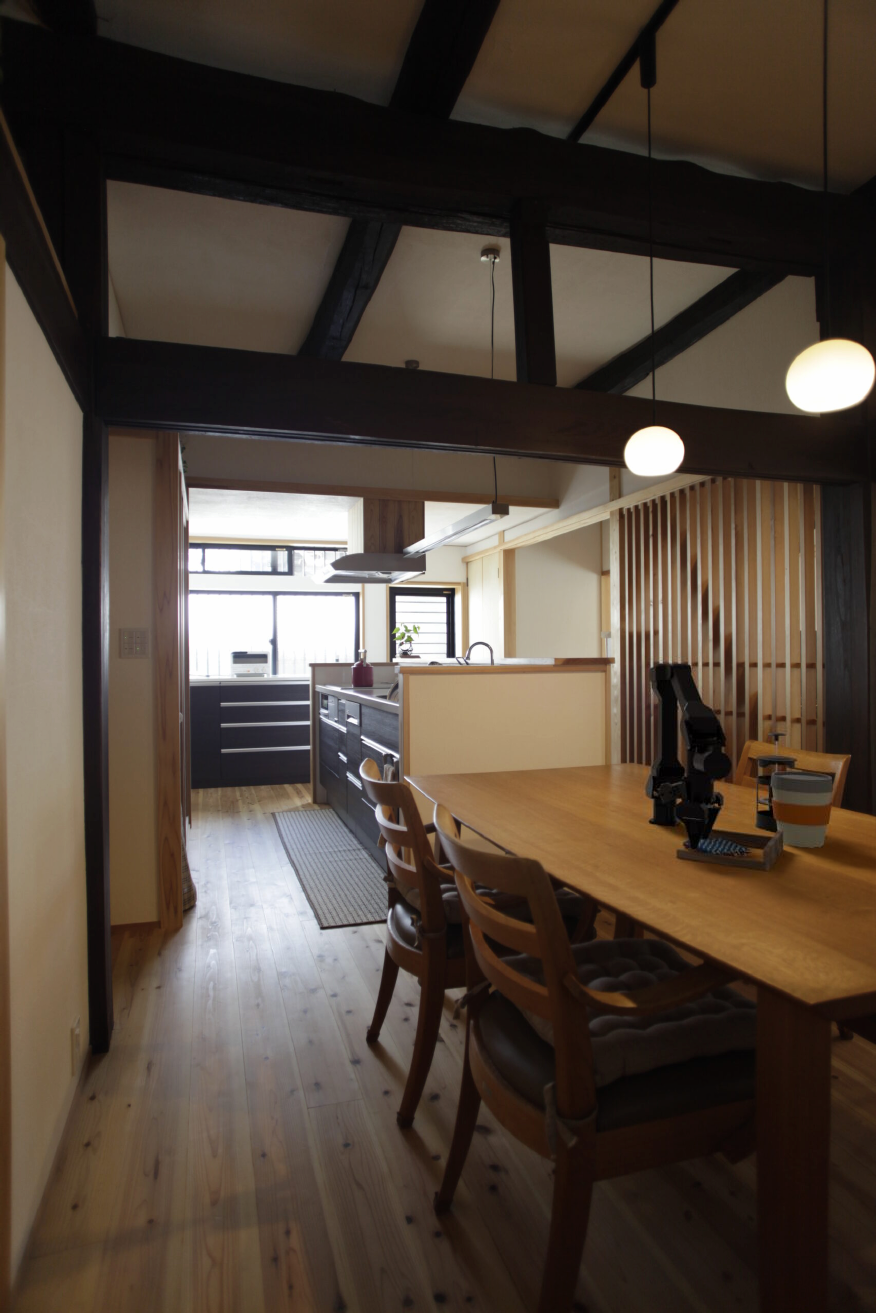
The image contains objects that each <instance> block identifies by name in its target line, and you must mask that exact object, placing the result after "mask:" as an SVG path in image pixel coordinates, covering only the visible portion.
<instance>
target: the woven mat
mask: <svg viewBox="0 0 876 1313" xmlns="http://www.w3.org/2000/svg"><path fill="white" fill-rule="evenodd" d="M682 846H683V848H685V849H686V850H689V849H690V850H689V851H691V850H692V851H695V852H702V853H709V854H716V855H723V856H730V857H737V858H742V857H747V855H748V857H751V854H752V851H751V850H750V849H749V848H748V846H747V847H746V846H745V847H744V845H739V844H734V843H733V842H729V841H728V840H724V839H723V838H721V839H719V838H716V839H704V840H702V839H700V842H699V844H698V847H697V849H692V848H691V846H690V842H689V839H687V840H686V841H683V842H682Z"/></svg>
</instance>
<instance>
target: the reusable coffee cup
mask: <svg viewBox="0 0 876 1313" xmlns="http://www.w3.org/2000/svg"><path fill="white" fill-rule="evenodd" d="M771 775H772V776H771V785H770V786H771V787H772V791H773V798H772V806H773V813H774V818H775V819H776V821H777V829H778V830H781V831H783V843H784V844H783V845H786V844H787V846H790V845H791V847H795V846H797V847H796V848H802V847H809V848H808V849H810V848H811V849H815V848H814V847H819V848H822V847H821V846H823V845H825V838H826V837H825V836H826V831H827V825H829V824H830V821H831V820H830V818H831V812H832V802H831V797H832V792H833V791H834V786H833V778H832V776H830V775H827V774H823V773H818V772H807V771H795V770H793V771H792V770H791V771H789V770H788V771H787V770H785V771H777V772H776V771H774V772H772V773H771ZM823 847H824V846H823Z"/></svg>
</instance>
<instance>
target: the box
mask: <svg viewBox="0 0 876 1313" xmlns="http://www.w3.org/2000/svg"><path fill="white" fill-rule="evenodd" d="M716 838H719V839H721V838H723V839H724V840H728V841H729V842H733V843H734V844H738V845H739V844H740V845H739V846H746V845H747V847H756V848H761V847H763V849H762V860H756V859H751V858H749V859H748V858H743V857H733V856H732V857H730V856H723V855H716V854H709V853H702V852H695V851H691V850H689V849H681V848H677V849H676V858H680V859H685V860H691V861H692V860H693V861H699V862H704V863H713V864H719V865H726V866H732V867H738V868H743V869H744V868H746V869H752V870H759V871H765V872H769V871H770V870H771V869H772V867H773V865H774V864H775V862H776V860H777V859H778V858H779V856H780V855H781V853H782V852H783V850H784V844H783V831H781V830H778V831H777V832H776V833H774V835H773V836H771V835H764V834H758V833H757V834H756V833H748V832H741V831H733V830H726V829H725V830H724V829H716V828H712V830H711V832H710V834H709V837H708V839H716ZM700 840H704V839H702V837H701V839H700ZM781 851H782V852H781ZM779 854H780V855H779Z"/></svg>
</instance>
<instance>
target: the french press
mask: <svg viewBox="0 0 876 1313" xmlns="http://www.w3.org/2000/svg"><path fill="white" fill-rule="evenodd" d="M766 735H768V736H774V738H773V740H774V741H775V755H769V754H768V755H758V756H756V759H757V760H758V767H760V768H762V769H764V768H768V767H769V766H771V765H773V766H775V772H778V766H787V767H788V768H789V769H792V770H794V769H796V762H797V761H798V759H797V758H795V757H790V756H784V755H778V742H780V740H779V739H780V737H784V736H787V734H786V733H783V732H768V733H767V734H766ZM771 776H772V774H769V775H767V774H764V775H757V776H756V780H755V781H756V784H755V785H756V787H755V788H756V790H755V791H756V794H755V795H756V801H755V802H756V806H755V808H756V809H755V810H756V811H755V812H756V814H755V816H756V818H755V819H756V822H754V823H755V824H754V825H755V827H756V828H757V827H758V829H760V828H761V829H760V830H763V829H766V830H765V831H768V830H772V831H771V832H775V831H778V829H777V821H776V819H775V818H774V813H773V806H772V798H773V791H772V787H771V786H770V785H771ZM759 785H763V786H768V797H761V798H759ZM759 804H760V805H764V806H768V809H761V810H759Z"/></svg>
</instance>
